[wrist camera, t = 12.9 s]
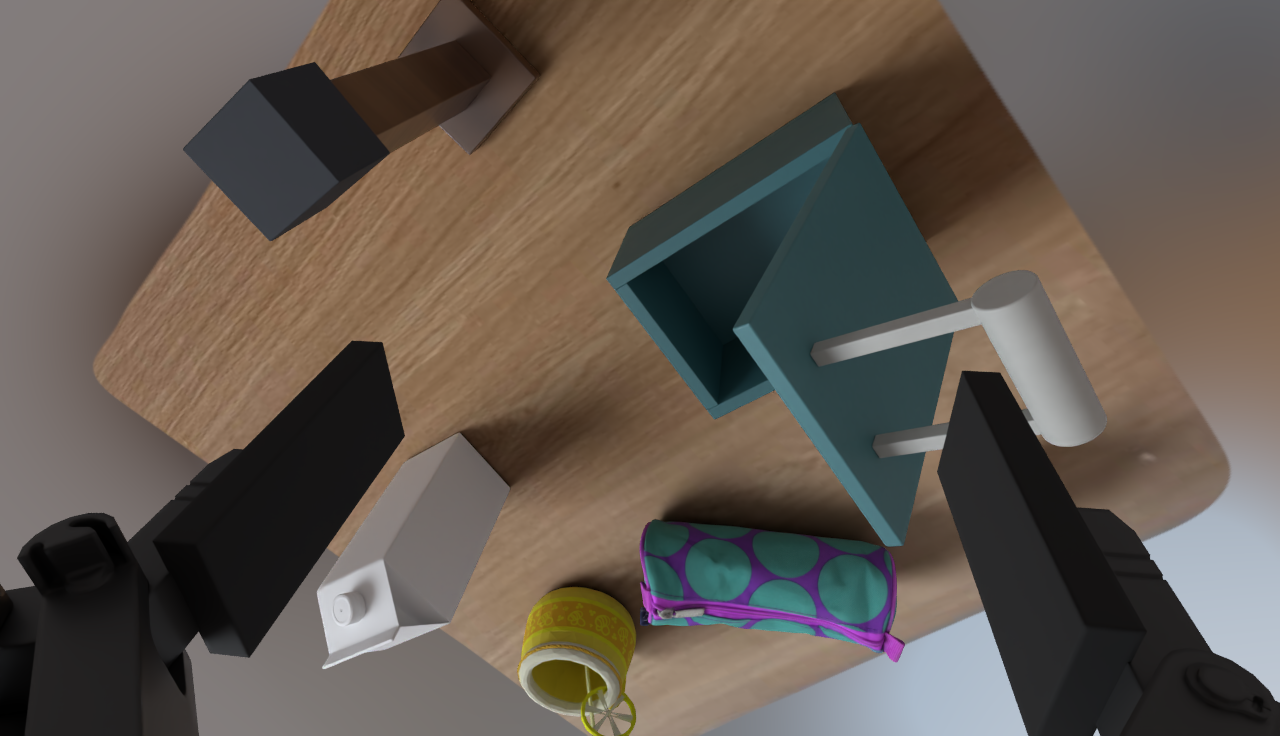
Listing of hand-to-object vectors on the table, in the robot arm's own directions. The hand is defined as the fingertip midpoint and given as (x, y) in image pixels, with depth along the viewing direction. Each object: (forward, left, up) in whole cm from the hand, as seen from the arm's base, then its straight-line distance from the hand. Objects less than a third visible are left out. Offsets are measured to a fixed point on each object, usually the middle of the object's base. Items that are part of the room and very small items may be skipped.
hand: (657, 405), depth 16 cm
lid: (+4, +9, -16) cm, 19 cm away
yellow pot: (+51, +1, -34) cm, 61 cm away
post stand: (+2, -16, -33) cm, 37 cm away
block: (+2, -16, -15) cm, 23 cm away
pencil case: (+35, +14, -34) cm, 50 cm away
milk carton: (+36, -14, -34) cm, 51 cm away
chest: (+7, +6, -33) cm, 35 cm away
